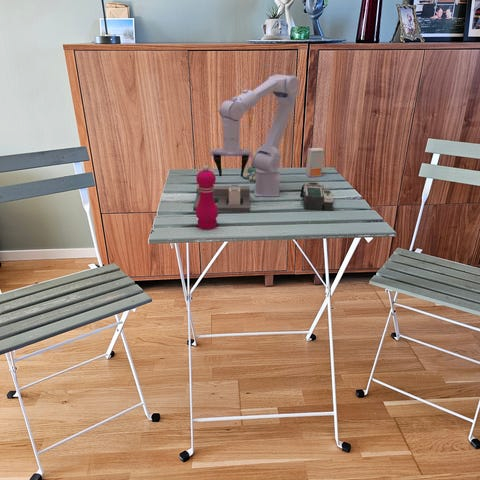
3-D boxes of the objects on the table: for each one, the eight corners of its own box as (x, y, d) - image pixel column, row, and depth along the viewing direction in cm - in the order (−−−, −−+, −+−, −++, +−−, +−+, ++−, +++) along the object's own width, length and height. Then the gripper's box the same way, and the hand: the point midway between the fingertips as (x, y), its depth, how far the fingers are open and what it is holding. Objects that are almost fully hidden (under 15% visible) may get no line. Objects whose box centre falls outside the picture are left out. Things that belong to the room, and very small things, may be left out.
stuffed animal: (239, 169, 169) (243, 157, 179) (239, 184, 174) (243, 171, 183) (265, 171, 168) (267, 158, 177) (264, 186, 172) (267, 172, 182)
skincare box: (308, 177, 178) (311, 150, 173) (305, 174, 182) (307, 148, 176) (321, 176, 179) (324, 149, 174) (317, 173, 183) (320, 147, 178)
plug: (240, 202, 150) (240, 184, 147) (240, 208, 145) (240, 189, 142) (229, 202, 150) (229, 184, 147) (228, 207, 145) (228, 189, 142)
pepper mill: (201, 231, 127) (199, 170, 118) (192, 223, 133) (190, 164, 124) (222, 227, 130) (221, 167, 121) (212, 219, 136) (211, 161, 127)
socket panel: (249, 195, 156) (249, 185, 155) (249, 211, 142) (250, 200, 140) (197, 195, 157) (197, 184, 155) (193, 211, 142) (192, 199, 140)
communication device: (328, 190, 165) (331, 169, 161) (333, 211, 144) (336, 188, 140) (299, 188, 166) (301, 167, 162) (299, 209, 145) (301, 186, 141)
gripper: (209, 139, 135) (209, 178, 141) (252, 140, 135) (251, 179, 141) (211, 135, 142) (211, 172, 148) (252, 136, 141) (251, 173, 147)
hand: (231, 175), depth 145 cm, fingers open, 7 cm apart
